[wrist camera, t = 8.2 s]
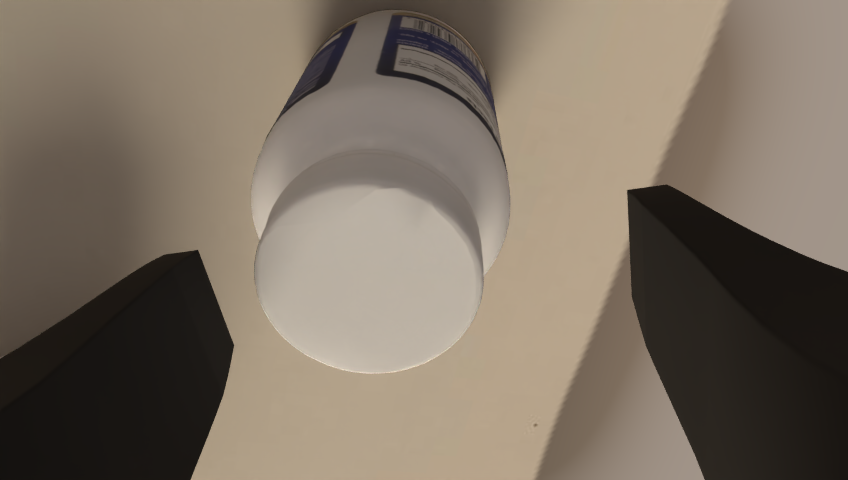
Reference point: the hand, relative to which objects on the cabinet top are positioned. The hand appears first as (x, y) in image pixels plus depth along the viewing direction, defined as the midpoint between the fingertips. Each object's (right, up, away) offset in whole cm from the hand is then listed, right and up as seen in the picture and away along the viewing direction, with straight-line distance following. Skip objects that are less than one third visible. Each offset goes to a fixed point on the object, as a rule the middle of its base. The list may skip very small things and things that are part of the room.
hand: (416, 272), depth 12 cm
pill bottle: (-1, +5, +9) cm, 10 cm away
